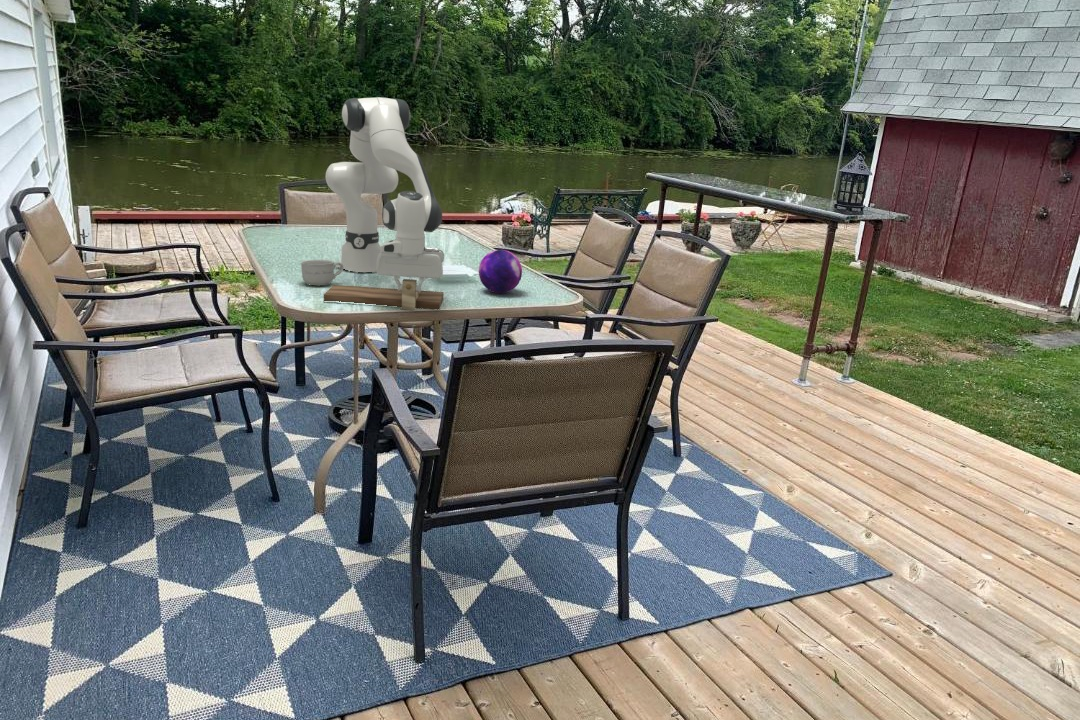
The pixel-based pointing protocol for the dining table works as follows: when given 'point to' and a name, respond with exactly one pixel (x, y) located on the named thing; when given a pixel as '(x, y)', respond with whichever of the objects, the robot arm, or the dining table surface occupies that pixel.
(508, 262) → the decorative orb
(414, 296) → the marking gauge
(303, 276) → the teacup
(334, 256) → the dining table surface
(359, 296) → the oak plank
